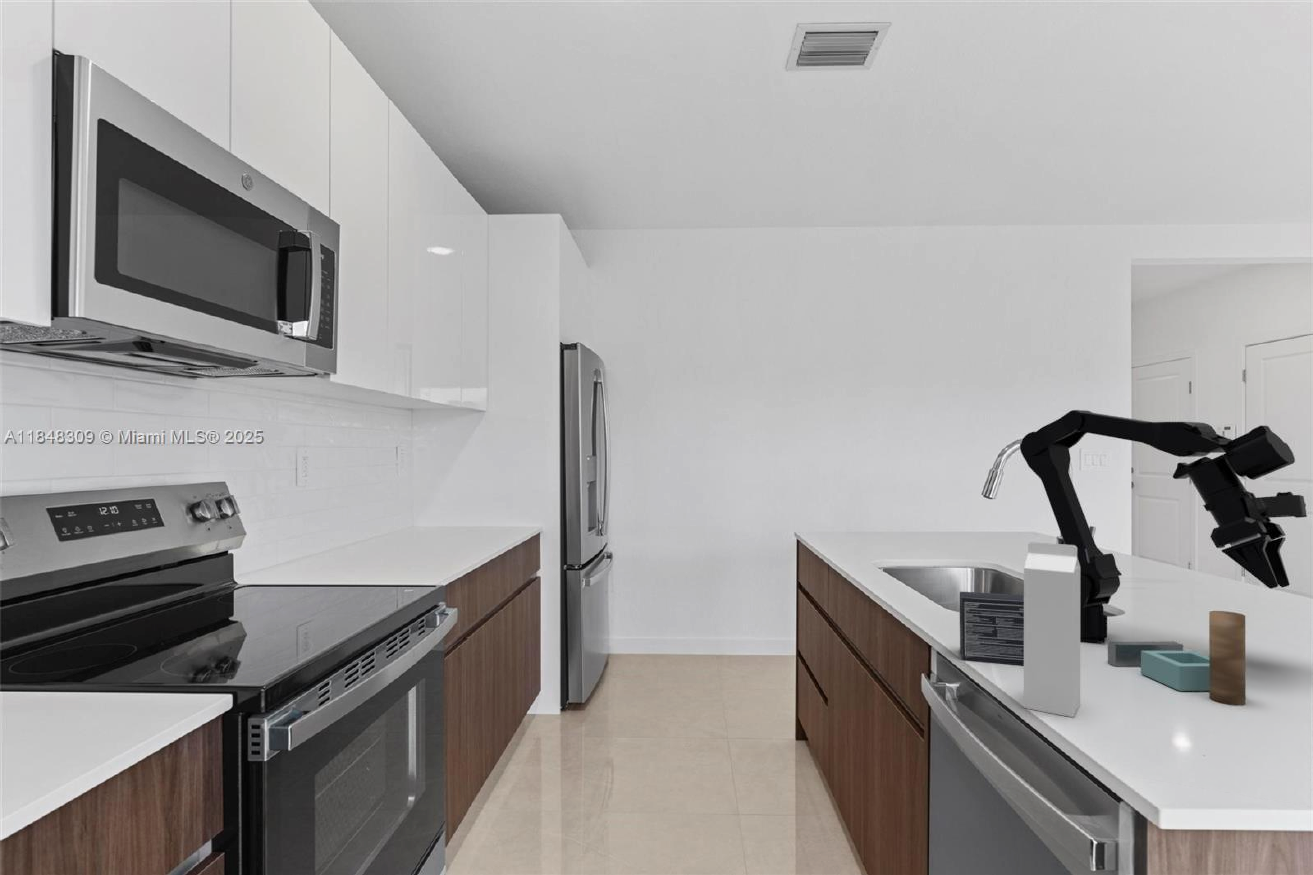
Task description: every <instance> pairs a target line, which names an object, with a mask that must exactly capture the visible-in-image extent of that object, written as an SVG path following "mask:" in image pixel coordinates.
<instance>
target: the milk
mask: <svg viewBox="0 0 1313 875" xmlns="http://www.w3.org/2000/svg"><path fill="white" fill-rule="evenodd" d="M1027 546H1028V547H1027V555H1026V559H1025V563H1024V566H1023V595H1024V665H1023V708H1024V709H1029V710H1033V711H1039V712H1042V713H1043V712H1044V713H1047V714H1048V713H1049V714H1054V715H1059V716H1064V717H1069V718H1074V717H1075V715H1076V714H1077V712H1078V710H1079V708H1080V706H1081V641H1080V564H1079V561H1078V558H1077V547H1076V546H1075V545H1065V543H1063V544H1061V543H1059V544H1058V543H1048V542H1037V541H1036V542H1033V541H1030V542H1029V543H1028V544H1027Z"/></svg>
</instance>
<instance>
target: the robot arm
mask: <svg viewBox="0 0 1313 875" xmlns="http://www.w3.org/2000/svg"><path fill="white" fill-rule="evenodd" d="M1087 434H1092V435H1098V436H1104V437H1110V438H1113V439H1114V438H1115V439H1120V440H1121V439H1122V440H1127V441H1131V442H1135V443H1136V442H1137V443H1143V444H1145V445H1147V446H1150V447H1151V448H1154V449H1156V450H1158V451H1161V452H1164V453H1166V454H1169V455H1172V456H1175V457H1181V458H1182V457H1183V458H1185V457H1187V458H1191V457H1192V458H1193V457H1194V458H1196V457H1200V458H1199V459H1196V460H1195V461H1191V462H1190V463H1187V462H1178V463H1177V465H1176V469H1175V471H1174V473H1173V475H1172V478H1173V479H1175V480H1185V479H1187V478H1189V479H1190V480H1191V482H1192V483H1193V486H1194V488H1195V489H1196V491H1197V493H1198V494H1199V496H1200V497H1201V499H1202V500H1203V502H1204V504H1203V505H1202V506H1203V507H1204V509H1205V511H1206V512H1209V513H1210V514H1211V516H1212V518H1213V520H1214V522H1215V523H1216V524H1217V527H1214V528H1212V531H1211V534H1210V539H1211V540H1212V543H1213V544H1214V545H1215V547H1216V549H1221V550H1220V551H1221V552H1222V553H1223V554H1225V556H1227V557H1228V558H1230V559H1231V560H1232V561H1234V562H1235V563H1237V564H1238V565H1240V567H1241V568H1243V569H1244V570H1246V571H1247V572H1248V573H1249V574H1250V575H1252V576H1253V577H1254V578H1255V579H1257V580H1259V582H1261V583H1262V584H1263V585H1264V586H1266V587H1268V589H1270V590H1271V589H1275V588H1278V587H1280V588H1286V587H1289V586H1290V585H1291V584H1290V581H1289V577H1288V574H1287V572H1286V568H1285V565H1284V562H1283V558H1282V556H1281V548H1282V546H1283V544H1284V542H1285V541H1286V537H1285V536H1286V533H1285V531H1284V530H1283V528H1282V527H1281V525H1280V524H1278V523H1276V522H1272V520H1271V518H1288V517H1289V518H1291V517H1294V518H1296V519H1297V518H1300V519H1301V518H1307V517H1308V516H1307V508H1306V506H1307V504H1306V503H1305V498H1304V497H1305V496H1303V495H1301V494H1293V492H1291V491H1287V492H1285V491H1284V492H1280V491H1279V492H1277V493H1276V495H1275V496H1261V497H1256V495H1255V494H1254V493H1253V492H1250V491H1248V490H1247V489H1246V488H1245V486H1244V484H1243V483H1242V481H1241V480H1240V477H1241V478H1244V477H1246V478H1248V479H1249V480H1252V481H1253V480H1256V479H1259V478H1262V477H1264V476H1267V475H1269V474H1272V473H1274V472H1277V471H1279V470H1281V469H1284V468H1286V467H1288V466H1291V465H1293V464H1295V462H1296V459H1295V454H1294V452H1293V451H1292V449H1291V447H1290V446H1289V444H1288V443H1287V442H1284V440H1282V439H1281V438H1280V436H1278V435H1277V433H1275V432H1273V431H1272V429H1271V428H1270V426H1269V425H1259V426H1257V427H1254V428H1252V429H1251V430H1250V431H1249V432H1247V433H1245V434H1243V435H1240V436H1238V437H1235V438H1234V439H1231V438H1228V437H1225V436H1223V435H1220V434H1217V432H1216V430H1215V429H1214V428H1213V426H1212V425H1210V424H1208V423H1205V422H1199V421H1198V422H1197V421H1196V422H1195V421H1148V420H1142V419H1137V418H1136V419H1135V418H1130V417H1123V416H1115V415H1109V414H1105V413H1104V414H1103V413H1097V412H1096V413H1095V412H1092V411H1090V410H1084V409H1083V410H1082V409H1081V410H1080V409H1072V410H1070V411H1068V412H1067V413H1066V414H1064V415H1062V416H1061V417H1060V418H1058V419H1056V420H1054V421H1052V422H1050V423H1048V424H1046V425H1044V426H1042V427H1041V428H1039V429H1038V430H1036V431H1031V432H1029V433H1027V434H1025V436H1024V437H1022V440H1021V442H1020V443H1019V449H1020V453H1021V455H1022V457H1023V459H1024V460H1025V462H1026V464H1027V466H1028V468H1030V470H1031V471H1032V472H1033V473H1034V474H1035V475H1036V476H1037V477H1038V478H1039V479H1040V480H1041V483H1042V486H1043V488H1044V491H1045V493H1046V496H1047V499H1048V502H1049V504H1050V507H1051V511H1052V513H1053V515H1054V518H1055V522H1056V524H1057V526H1058V529H1059V531H1060V535H1061V537H1062V540H1063V544H1064V545H1075V546H1076V547H1077V558H1078V561H1079V564H1080V642H1088V643H1089V642H1090V643H1098V644H1099V643H1100V644H1105V643H1106V639H1107V638H1108V615H1107V613H1106V612H1104V605H1108V604H1109V602H1110V601H1111V598H1112V596H1114V594H1115V593H1117V592H1118V589H1119V588H1120V587H1121V580H1120V576H1122V575H1123V574H1122V573H1121V571H1120V570H1119V568H1118V567H1117V564H1116V558H1115V556H1114V554H1113V553H1103V552H1102V551H1101V549H1100V548H1098V546H1097V545H1096V542H1095V540H1094V537H1093V534H1092V532H1091V529H1090V526H1089V524H1088V521H1087V519H1086V515H1085V514H1084V510H1083V508H1082V505H1081V502H1080V499H1079V497H1078V494H1077V492H1076V489H1075V487H1074V484H1073V481H1072V479H1071V477H1070V476H1071V475H1070V473H1069V472H1070V467H1071V466H1070V465H1071V453H1070V449H1071V448H1072V447H1074V446H1075V445H1077V444H1078V443H1079V442H1080V441H1081V439H1083V437H1084V436H1085V435H1087ZM1219 453H1221V454H1220V455H1219V456H1217V457H1214V458H1211V457H1208V455H1209V454H1219ZM1222 453H1223V454H1222ZM1226 545H1229V547H1226ZM1225 547H1226V548H1225Z"/></svg>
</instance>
